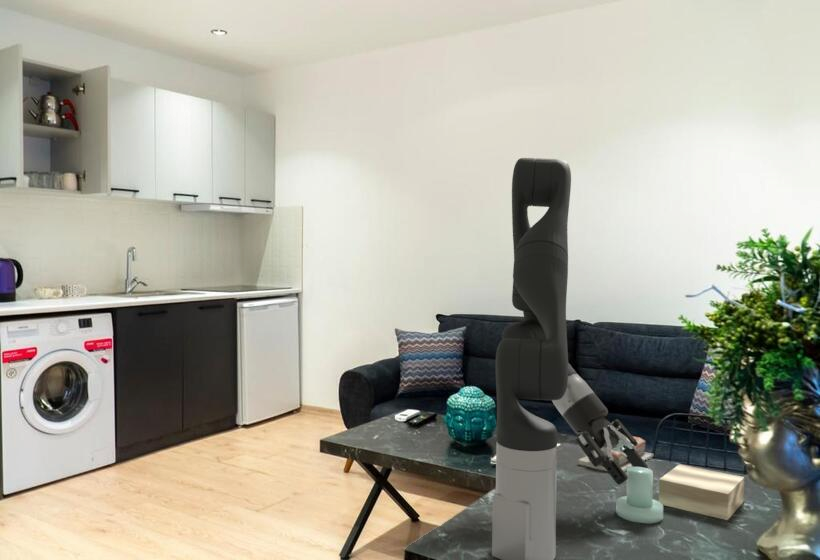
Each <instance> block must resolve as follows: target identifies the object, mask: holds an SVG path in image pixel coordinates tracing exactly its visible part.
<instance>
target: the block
mask: <svg viewBox="0 0 820 560" xmlns="http://www.w3.org/2000/svg"><path fill="white" fill-rule="evenodd" d="M744 500H745V476H739V475H736V474H730V473H725V472H720V471H714V470H709V469H704V468H700V467H694V466H689V465H684V464H679V463H678V464H677V465H675V467H673V468H672V469H671V470H670V471H668V472H667V473H666V474H664V475H662V477H660V478H659V479H658V501H659V502H660V503H661V504H662V505H663V506H666V507H670V508H674V509H679V510H683V511H687V512H690V513H695V514H700V515H704V516H708V517H713V518H716V519H721V520H724V521H725V520H726V521H729V519H730V518H731V517H732V516H733V515H734V513H735V512H736V511H737V510H738V509H739V508H740V507H741V505H742V504H743V503H744Z"/></svg>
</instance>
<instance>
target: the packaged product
mask: <svg viewBox="0 0 820 560" xmlns="http://www.w3.org/2000/svg"><path fill="white" fill-rule="evenodd" d="M633 438H634V439H635V440H636V441H637V443H638V445H636V449H635V450H636V452H637V453H638V454H639V455H640V457H641V458H642V459H643V460H644V462H646V461H648V460H649V459H652V458H653V457H654V456H655V454H654V453H651V452H647V451H645V450H646V440H645V439H643V438H642V437H639V436H633ZM627 440H628V441H629V442H630V440H629V439H628V438H627ZM622 448H624V447H623V446H622ZM611 453H612V456H613V461H614V460H615V461H616V462H617V463H618V465H619V466H620V467H621V469H622V470H623V471H624V473H625V472H627V468H629V467H633V466H632V465H631V464H630V462H629V461H628V460H627V458H626V457H627V456H624V455H623V454H622V453H620V452H619V451H613V450H611ZM592 454H593V456H594V457H595V458H597V457H596V456H595V455H594V452H592ZM605 456H606V455H605ZM645 460H646V461H645ZM578 464H579V465H580V466H583V467H586V468H591V469H596V470H600V471H603V470H604V472H608V471H607V470H606V469H605V468H602V467H601V466H597V467H595V466H594V465H593V464H592V462H591V461H590V460H589V458H588V457H587V455H586V456H583V457H581V458H579V459H578Z"/></svg>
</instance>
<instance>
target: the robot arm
mask: <svg viewBox="0 0 820 560" xmlns="http://www.w3.org/2000/svg"><path fill="white" fill-rule="evenodd" d="M571 186H572V171H571V168H570V165H569V163H568V162H567V161H566V160H565V159H564V160H563V159H560V158H541V157H540V158H537V157H536V158H535V157H522V158H518V160H517V161H515V165H514V167H513V172H512V182H511V219H512V220H511V221H512V222H511V223H512V224H511V225H512V240H513V241H512V242H513V270H512V280H513V281H512V294H511V301H512V303H511V304H512V305H513V307H514V308H515V309H516V310H518V311H521V312H522V314H523V320H522V321H518V322H514V323H511V324H509V325H508V326H506V327H504V330H503V331H502V334H501V340H500V342H499V343H498V344H497V348H496V352H495V386H496V387H495V388H496V448H495V449H496V452H495V453H496V454H495V493H494V494H493V495H492V513H491V515H492V516H491V517H492V522H491V525H492V526H491V527H492V528H491V529H492V531H491V533H492V534H491V556H492V557H494V558H497V559H499V560H555V558H556V553H557V552H556V546H557V545H556V543H557V542H556V541H557V534H556V533H557V530H556V529H557V474H558V473H557V472H558V471H557V468H558V467H557V463H558V429H557V427H556V426H555V425H554V424H553V423H552V422H550V421H549V420H546V419H543V418H541V417H539V416H537V415H535V414H533V413H532V412H530V411H528V410H527V409H525V408H524V407H523V406H522V405H521V404H520V403H519V401H518V400H519V399H520V400H532V401H533V400H534V401H551V402H552V403H553V405H554V406H555V408H556V409H557V411H558V412H559V413H560V415H561V416H562V417H563V418H564V420H565V421H566V423H567V424H568V425H569V426H570V428H571V429H572V431H573V432H574V433H575V434H576V435H579V436H577V437H576V439H575V441H576V444H578V446H579V447H580V448H581V450H582V451H583V453H584V455H586V456H587V457H588V458H589V460H590V461H591V462H592V464H593V465H594V466H595V467H597V466H601V467H602V468H605V469H606V470H607V471H606V472H608V474H609V476H610V477H611V478H612V480H613V481H614V482H615V483H616V485H618V486H619V485H621V484H623V483H625V482H627V479H628V477H627V473H625V472H624V471H623V470H622V469H621V467H620V466H619V465H618V463H617V462H616V461H615V460H614V461H613V456H612V453H611V450H613V451H619V452H620V453H622V454H623V455H624V456H627V457H626V458H627V460H628V461H629V462H630V464H631V465H632V466H633V467H644V468H648V469H649V465H648V464H647V463H646V461H644V460H643V459H642V458H641V457H640V455H639V454H638V453H637V452H636V450H635V449H636V445H638V443H637V441H636V440H635V439H634V438H633V437H634V436H633V435H632V434H631V433H630V432H629V430H628V429H627V428H626V426H625V425H624V424H623V423H622V422H621V421H620V420H619V419H617V418H616V419H615V420H613V421H612V422H610V421H609V420H608V419H607V415H608V413H609V410H608V408H607V407H606V405H605V404H604V403H603V402H602V400H600V398H599V397H598V396H597V394H595V392H594V391H593V389H592V388H591V387H590V386H589V385H588V383H587V382H586V381H585V380H584V379H583V378H582V377H581V376H580V375H579V374H578V373H577V371H576V370H575V369H574V368H573V367H572V365H571V364H570V363H569V353H568V352H569V351H568V336H567V335H568V332H567V292H568V277H569V273H568V272H569V249H568V247H569V245H568V241H569V240H568V222H569V221H568V220H569V211H570V209H569V208H570V200H571V189H572V187H571ZM528 207H538V208H539V207H541V208H548V209H547V210H546V212H545V213H544V215H543V216H542V217H540V219H538V221H536V222H535V223H534V224H533V225H532V226H531V224H530V221H529V214H528V213H529V212H528V210H529V209H528ZM627 438H628V439H629V440H630V442H629V441H628V440H627ZM622 446H623V447H624V448H622ZM592 452H594V455H595V456H596V457H597V458H595V457H594V456H593V454H592ZM605 455H606V456H605Z"/></svg>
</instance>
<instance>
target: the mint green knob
mask: <svg viewBox="0 0 820 560" xmlns="http://www.w3.org/2000/svg"><path fill="white" fill-rule="evenodd" d="M626 475H627V477H628V479H627V480H626V495H623V496H621V497H617V499H616V500H615V501H616V502H615V513H616V515H617V516H618V517H620V518H621V519H623V520H626V521H629V522H633V523H638V524H656V523H659V522H662V521H663V519H664V505H662V504H661V503H660V502H659V500H657V499H654V498H653V497H654V495H653V491H654V489H653V488H654V486H653V485H654V484H653V483H654V471H653V470H652V469H651V468H649V467H648V468H644V467H629V468H627V470H626Z"/></svg>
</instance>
